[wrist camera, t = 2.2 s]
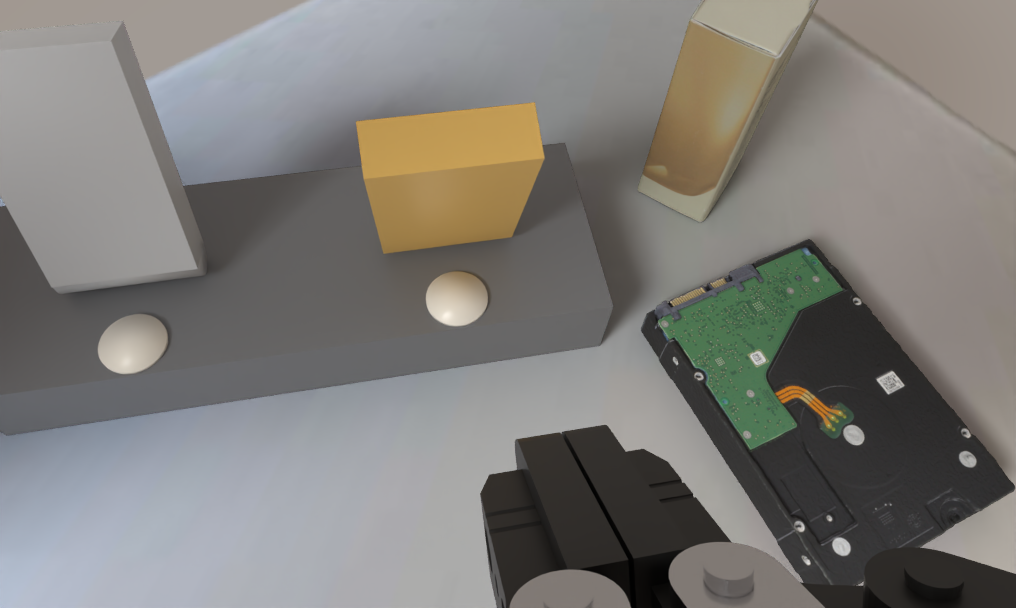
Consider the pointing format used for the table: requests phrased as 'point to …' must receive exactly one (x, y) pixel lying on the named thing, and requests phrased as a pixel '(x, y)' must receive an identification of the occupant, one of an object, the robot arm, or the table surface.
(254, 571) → the table surface
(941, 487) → the disk drive
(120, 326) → the dark grey flat block
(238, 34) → the table surface
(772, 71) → the skincare box
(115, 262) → the grey switch
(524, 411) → the table surface
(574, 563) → the robot arm
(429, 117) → the amber switch
